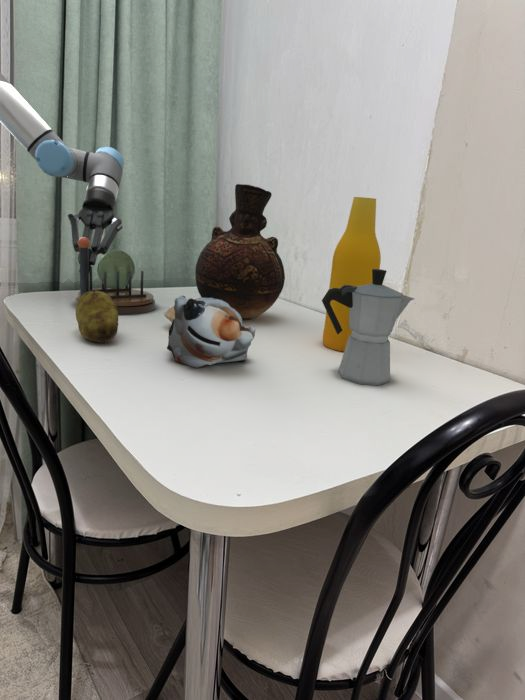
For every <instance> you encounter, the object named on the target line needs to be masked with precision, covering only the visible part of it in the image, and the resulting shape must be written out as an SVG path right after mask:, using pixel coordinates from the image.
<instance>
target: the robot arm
mask: <svg viewBox="0 0 525 700" xmlns="http://www.w3.org/2000/svg"><path fill="white" fill-rule="evenodd" d="M0 124H1V125H2V126H3V127H4V128H5V129H6V130H7V131H8V132H9V133H10V134H11V135H12V136H13V137H14V139H15V140H16V141H17V142H18V143H19V144H20V145H21V146H22V147H23V148H24V149H25V150H26V151H27V152H28V154H30V156H31V157H32V158H33V159H34V160H35V161H36V164H37V166H38V167H39V168H40V170H41V171H42V172H43V173H44V174H46V175H48V176H51V177H55V178H64V179H69V180H74V181H80V182H83V183H87V186H86V190H85V195H84V199H83V202H82V206H81V209H80V210H79V211H78V213H77V214H72V213H69V214H68V215H67V218H68V221H69V224H70V227H71V240H72V241H71V243H72V247H73V250H74V252H76V253H78V255H77V261H78V264H79V265H80V247H79V246H78V240H79V238H80V234H79V224H80V221H81V223H82V224H83V225H84V228H83V231H82V236H81V237H86V238H88V239H89V241H90V242H91V241H92V242H91V245H90V248H88V268H89V267H90V266H95V265H96V264H97V263H96V262H97V258H98V255H99V254H100V255H104V254H106V253H107V252H108V250H109V249H110V247H111V245H112V243H113V242H114V240H115V237H116V236H117V234H118V233H119V232H120V231H121V230H122V229H123V221H122V219H121V218H116V217H115V209H116V206H117V205H116V204H117V201H118V195H119V190H120V186H121V180H122V177H123V171H124V163H125V162H124V158H123V156H122V154H121V153H120V152H119V151H118V150H117V149H116V148H113V147H110V146H103V147H99V148H98V149H97V150H96V151H95V152H92V151H91V152H90V151H84V150H81V149H77V148H73V147H70V146H68V145H67V144H66V143H65V142H64V141H63V140H62V139H61V138H60V137H59V135H58V134H57V133H56V132H55V131H54V130H53V129H52V128H51V127H50V126H49V124H48V123H47V122H46V121H45V120H44V119H43V118H42V117H41V116H40V115H39V113H38V112H37V111H36V110H35V109H34V108H33V107H32V105H30V104H29V103H28V101H27V100H26V99H25V98H24V97H23V96H22V95H21V93H19V91H18V90H17V89H16V87H14V86H13V85H12V84H11V83H10V82H9V80H8V79H7V78H6V77H5V76H4V75H3V74H2V72H0ZM67 176H68V177H67ZM108 227H109V228H108ZM106 228H108V229H107V231H106V233H105V235H104V231H105V229H106ZM93 231H94V233H93ZM92 234H93V236H92ZM103 235H104V236H103ZM91 237H93V238H92V240H91ZM78 272H79V273H80V269H79V270H78Z"/></svg>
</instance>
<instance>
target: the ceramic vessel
mask: <svg viewBox="0 0 525 700" xmlns="http://www.w3.org/2000/svg"><path fill="white" fill-rule="evenodd" d="M234 187H235V188H234V195H235V196H234V200H235V201H234V202H235V210H234V211H233V212H232V213H231V214H230V216H229V217H228V220H229V224H230V226H231V228H230V229H229V230H227V231H225V230H223V229H222V228H221V227H220V226H218V225H217V226H214V227H213V228H212V231H211V240H210V241H209V242H207V244H206V245H205V246H204V247H203V248H202V250H200V253H199V256H198V257H197V261H196V264H195V271H194V273H195V274H194V277H195V284H196V289H197V291H198V294H199V296H200V298H214V299H219V300H223V301H224V302H226V303H228V304H229V306H230V307H231V308H233V309H235V310H236V311H237V312H238V313H239V314H240V316H241V318H242V319H252V318H257V317H259V316H261V315H263V314H264V313H265V312H267V311H268V310H269V309H271V308H272V307H273V305H274V304H275V303H276V302H277V300H278V298H279V297H280V295H281V293H282V291H283V289H284V286H285V280H286V273H285V268H284V267H285V266H284V264H283V261H282V259H281V257H280V254H279V253H278V246H279V239H278V238H277V237H275V236H270V237H267V238H265V237H264V236H262V234H261V232H262V231H263V230H264V229H265V228H266V227H267V224H268V220H267V217H266V216H265V215H264V211H265V208H266V207H267V205H268V203H269V201H270V200H271V198H272V191H269V190H266V189H264V188H262V187H259V186H256V185H251V184H246V183H245V184H242V183H237V184H235V186H234Z"/></svg>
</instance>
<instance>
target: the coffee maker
mask: <svg viewBox="0 0 525 700" xmlns="http://www.w3.org/2000/svg"><path fill="white" fill-rule="evenodd" d="M386 274H387V270H386V269H382V268H380V269H372V284H367V285H362V286H356V287H355V286H351V285H343V286H342V287H341V288H332V289H329V288H328V290H327V292H326V293H325V295H324V296H323V297H322V299H321V302H322V304H323V307H324V309H325V312H326V311H327V313H328V315H329V318H330V320H331V322H332V324H333V326H334V328H335V330H336V333H337V334H339V333H340V332H342V331H343V330H342V328H341V326H340V324H339V322H338V320H337V317H336V315H335V313H334V311H333V309H332V307H331V305H330V302H331V300H335V301H337V302H339V303H341V304H343V305H345V306H347V307H349V328H350V329H351V331H352V333H351V335H349V338H348V341H347V344H346V348H345V351H344V352H343V354H342V358H341V361H340V364H339V368H338V374H339V376H340V377H341V379H343V380H346V381H349V382H352V383H355V384H358V385H367V386H383V385H385V384H388V383H389V382H391V341H390V340H389V336H391V333H392V332H393V330H394V329H395V328H394V327H395V325H396V321H397V319H398V318H399V316H400V315H401V314H402V313H403V311H404V310H405V309H406V307H407V306H408V304H410V302H411V301H414V300H415V298H414V297H411V296H407V295H404V294H403V293H402V292H401V291H398V290H396V289H393V288H391V287H389V286H386V285H385V284H384V281H385V278H386Z"/></svg>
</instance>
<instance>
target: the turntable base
mask: <svg viewBox="0 0 525 700" xmlns="http://www.w3.org/2000/svg"><path fill="white" fill-rule="evenodd" d="M78 300H79V299H78V296H76V297H75V306H76V305H77V302H78ZM117 308H118V316H120V315H121V316H122V315H124V316H125V315H127V316H128V315H139V314H145V313H146V314H147V313H149V312H152V311H154V310H155V309H156V300H155V299H154V300H153V302H151V303H149V304H145V305H138V306H117Z"/></svg>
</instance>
